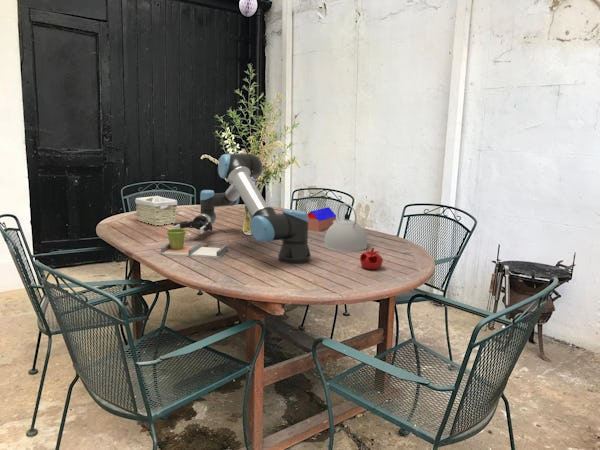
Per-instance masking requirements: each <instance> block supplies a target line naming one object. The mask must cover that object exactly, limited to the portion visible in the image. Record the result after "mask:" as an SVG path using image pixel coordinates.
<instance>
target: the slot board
mask: <svg viewBox="0 0 600 450" xmlns="http://www.w3.org/2000/svg"><path fill="white" fill-rule="evenodd" d="M228 248H229V245H228V244H224V245H223V246H222V247H210V246H209V247H208V246H207V247H205V246H202V242H198V243H196V244H195V245H193V246H191V245H184V246H183V248H182V249H171V248H170V243H168V244H165V245H163V246H162V247H160V254H161V255H162V256H163V255H164V256H165V255H167V256H180V257H181V256H182V257H197V258H210V259H220V258H221V257H222V256H223V255H225V253H227V252H228V251H229V250H228Z"/></svg>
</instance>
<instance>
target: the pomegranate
mask: <svg viewBox="0 0 600 450" xmlns="http://www.w3.org/2000/svg"><path fill="white" fill-rule="evenodd" d="M374 250H375V247H371V249H370V250H368V249H365V251H364V252H363V253H361V255H360V257H359V262H360V265H361V267H362V268H364V269H365V268H366V270H371V269H376V270H378V269H380V268H381V267H382V265H383V262H384V259H383V257H382V256H381V255H380V254H379V251H378V250H376V251H374Z"/></svg>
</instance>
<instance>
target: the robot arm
mask: <svg viewBox="0 0 600 450" xmlns="http://www.w3.org/2000/svg"><path fill="white" fill-rule="evenodd" d="M218 160H219V161H218V167H217V171H218V175H219V177H220V179H224V180H225V179H227V181H228V183H229V184H230V186H229V187H228V188H227V189H226V190H225V192H220V193H218V192H217V193H215V191H214V190H212V189H203V190H201V191H200V195H199V197H200V214H199V215H197V216H195V217H194V218H193V219H192V220H191V221H189V220H184V221H179V222H175V223H173V229H188V228H189V229H196V230H198V231H199V234H201V235H202V234H204V233H205V232H208V231H211V232H212V231H213V224H214V223H215V222H216V220H217V214H216V212H215V208H217V207H219V208H220V207H233V206H237V205H238V204H239V203H240V198H241V199H242V201H243V203H244V205H245V207H246V209H247V210H248V212H249V214H250V216H251V218H250V221H249V229H250V233H251V236H252V237H253V238H254V239H255V240H256V241H257V242H259V243H269V242H274V241H281V240H282V244H281V246H280V249H279V252H278V254H277V256H278V257H277V259H278V261H280V262H282V263H285V264H292V265H293V264H294V265H296V264H297V265H298V264H299V265H300V264H306V263H308V262H309V263H310V261H311V259H312V255H311V251H310V248H309V245H308V244H309V243H308V236H309V230H308V223H309V221H308V213H307V212H306V211H302V210H298V209H291V208H289V209H288V208H286V209H283V210H282V213H277V212H276V211H275V209H274V208H273V207H271V206H268V204H267V202H266V201H265V198H264V197H263V196H262V193H261V192H260V191H259V189H258V187H257V186H256V184H255V183H254V181H252V179H251V177H253V178H254V179H257V178H258V177H259V176H261V175H262V173H263V170H264V169H263V167H264V166H263V163H262V161H261V159H260V158H259V157H258V156H257V155H255V154H253V153H225V154H222V155H221V156H220V158H219V159H218ZM252 171H253V172H252ZM259 178H260V177H259ZM259 178H258V179H259ZM258 179H257V180H258ZM234 186H235V187H234Z"/></svg>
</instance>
